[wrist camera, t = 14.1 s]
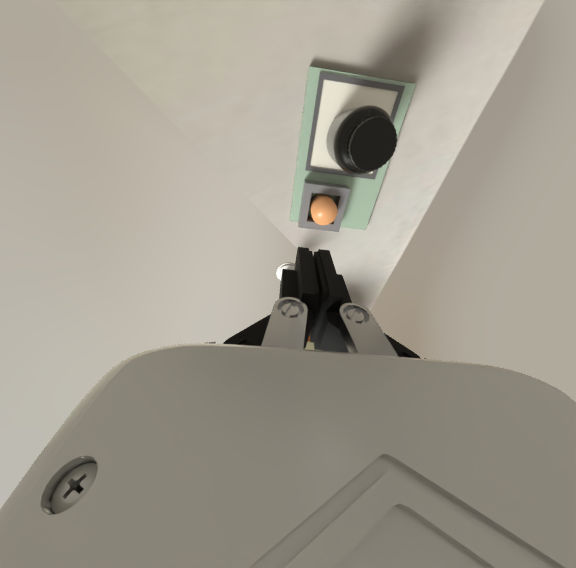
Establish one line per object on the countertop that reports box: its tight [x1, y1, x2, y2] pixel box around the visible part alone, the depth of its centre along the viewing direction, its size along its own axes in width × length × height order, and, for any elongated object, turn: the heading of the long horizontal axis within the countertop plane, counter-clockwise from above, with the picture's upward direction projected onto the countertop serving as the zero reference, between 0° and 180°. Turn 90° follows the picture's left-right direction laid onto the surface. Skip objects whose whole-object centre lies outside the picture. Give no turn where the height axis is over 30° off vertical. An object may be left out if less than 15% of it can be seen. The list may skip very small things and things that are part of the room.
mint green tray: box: [290, 66, 416, 232], centre depth 33 cm, size 20×14×4 cm
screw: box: [277, 263, 295, 281], centre depth 41 cm, size 13×5×5 cm
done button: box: [310, 193, 338, 225], centre depth 36 cm, size 4×4×4 cm
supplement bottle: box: [326, 105, 397, 175], centre depth 27 cm, size 7×7×12 cm
